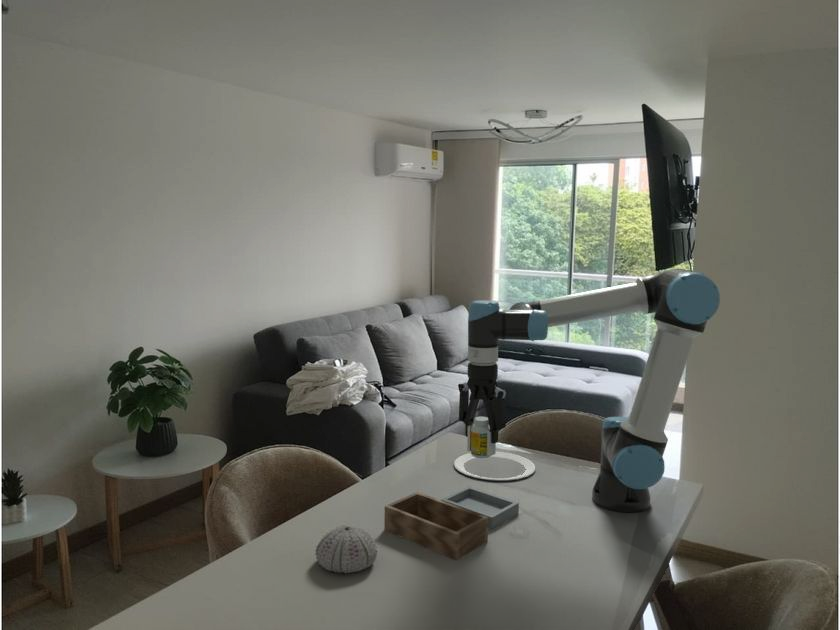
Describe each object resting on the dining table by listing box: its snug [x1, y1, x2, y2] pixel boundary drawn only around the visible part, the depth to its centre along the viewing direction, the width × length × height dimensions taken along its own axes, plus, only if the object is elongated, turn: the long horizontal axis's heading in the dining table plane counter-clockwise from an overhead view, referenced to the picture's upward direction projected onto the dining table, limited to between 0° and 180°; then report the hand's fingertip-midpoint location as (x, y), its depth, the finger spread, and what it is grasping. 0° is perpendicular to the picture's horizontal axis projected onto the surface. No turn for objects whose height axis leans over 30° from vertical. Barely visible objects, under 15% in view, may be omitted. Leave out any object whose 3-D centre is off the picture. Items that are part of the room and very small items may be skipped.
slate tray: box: [440, 486, 520, 530], centre depth 174 cm, size 16×12×3 cm
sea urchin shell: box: [314, 524, 378, 574], centre depth 147 cm, size 13×14×8 cm
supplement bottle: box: [470, 416, 490, 459], centre depth 171 cm, size 5×5×10 cm
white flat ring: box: [453, 451, 536, 482], centre depth 207 cm, size 25×25×1 cm
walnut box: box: [383, 491, 489, 561], centre depth 161 cm, size 22×12×6 cm, turn 49°
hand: (481, 452), depth 172 cm, fingers closed on supplement bottle, 5 cm apart
